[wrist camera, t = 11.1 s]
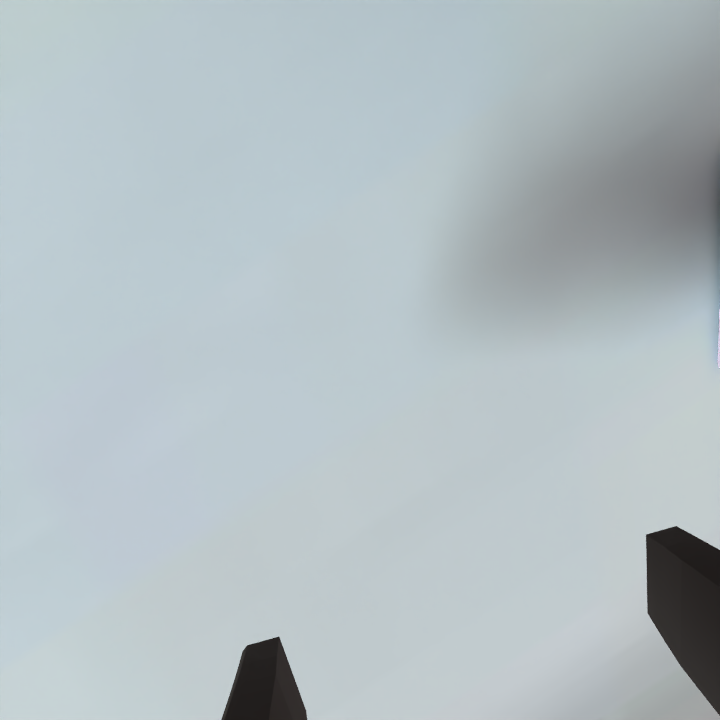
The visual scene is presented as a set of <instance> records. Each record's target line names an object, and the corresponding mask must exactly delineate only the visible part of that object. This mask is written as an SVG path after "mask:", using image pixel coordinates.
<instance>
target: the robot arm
mask: <svg viewBox="0 0 720 720" xmlns="http://www.w3.org/2000/svg"><path fill="white" fill-rule="evenodd" d="M718 367H719V368H720V311H719V338H718ZM646 549H647V603H648V614H649V616H650V618H651V619H652V621H653V623H654V624H655V626H656V628H657V629H658V631H659V632H660V634H661V636H662V637H663V639H664V641H665V642H666V644H667V645H668V647H669V648H670V650H671V651H672V653H673V655H674V656H675V658H676V659H677V661H678V662H679V664H680V665H681V667H682V668H683V669H684V671H685V672H686V673H687V674H688V676H689V677H690V678H691V680H692V681H693V682H694V683H695V685H696V686H697V687H698V689H699V690H700V691H701V692H702V694H703V695H704V696H705V697H706V699H707V700H708V701H709V703H710V704H711V705H712V706H713V708H714V709H715V710H716V711H717V713H718V714H719V715H720V550H719V549H717V548H715V547H713V546H711V545H710V544H708V543H706V542H704V541H702V540H701V539H699V538H697V537H695V536H693V535H691V534H690V533H688V532H686V531H684V530H682V529H680V528H678V527H677V526H676V527H672V528H668V529H665V530H661V531H658V532H654V533H650V534H647V535H646ZM222 720H307V715H306V709H305V707H304V704H303V701H302V698H301V696H300V693H299V690H298V687H297V685H296V682H295V679H294V676H293V674H292V671H291V668H290V665H289V663H288V660H287V657H286V654H285V652H284V649H283V646H282V643H281V640H280V638H279V637H276V638H273V639H269V640H265V641H262V642H258V643H255V644H251V645H247V646H246V648H245V649H244V651H243V652H242V656H241V660H240V663H239V667H238V670H237V673H236V677H235V680H234V683H233V687H232V690H231V693H230V696H229V699H228V702H227V705H226V708H225V711H224V714H223V717H222Z"/></svg>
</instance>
